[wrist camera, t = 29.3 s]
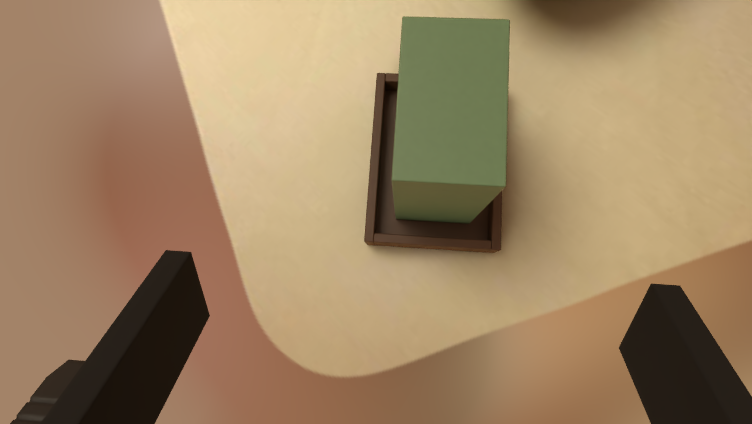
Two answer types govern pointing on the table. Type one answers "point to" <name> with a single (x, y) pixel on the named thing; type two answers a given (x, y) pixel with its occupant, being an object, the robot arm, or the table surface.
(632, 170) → the table surface
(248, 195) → the table surface
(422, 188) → the green box
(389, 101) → the tray
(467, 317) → the table surface
